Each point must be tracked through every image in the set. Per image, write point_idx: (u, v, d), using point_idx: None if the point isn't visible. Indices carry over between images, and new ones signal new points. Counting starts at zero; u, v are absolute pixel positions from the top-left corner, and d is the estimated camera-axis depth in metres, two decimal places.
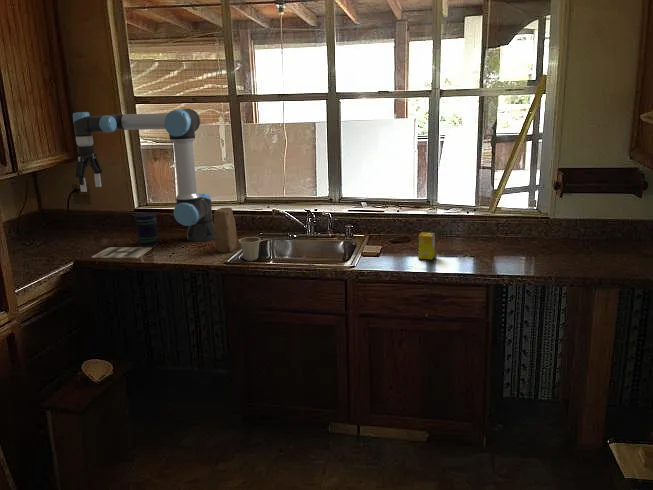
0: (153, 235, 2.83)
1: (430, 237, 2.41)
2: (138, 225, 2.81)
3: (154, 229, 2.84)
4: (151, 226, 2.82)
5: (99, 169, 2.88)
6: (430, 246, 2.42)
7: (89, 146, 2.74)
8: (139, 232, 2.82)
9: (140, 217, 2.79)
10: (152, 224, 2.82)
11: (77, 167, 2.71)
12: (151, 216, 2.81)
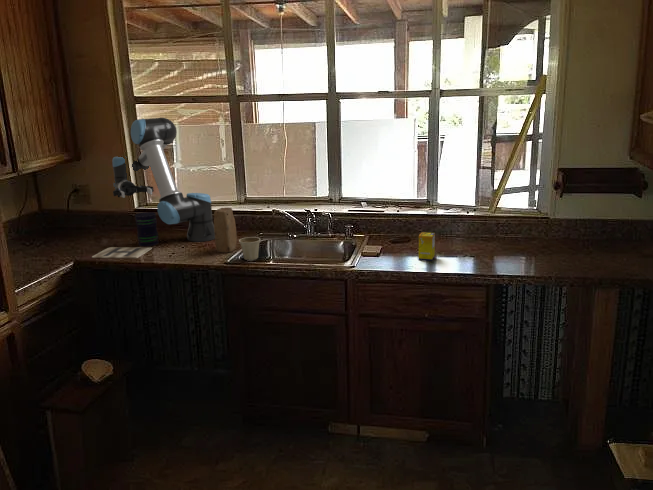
0: (153, 235, 2.83)
1: (430, 237, 2.41)
2: (138, 225, 2.81)
3: (154, 229, 2.84)
4: (151, 226, 2.82)
5: None
6: (430, 246, 2.42)
7: None
8: (139, 232, 2.82)
9: (140, 217, 2.79)
10: (152, 224, 2.82)
11: None
12: (151, 216, 2.81)
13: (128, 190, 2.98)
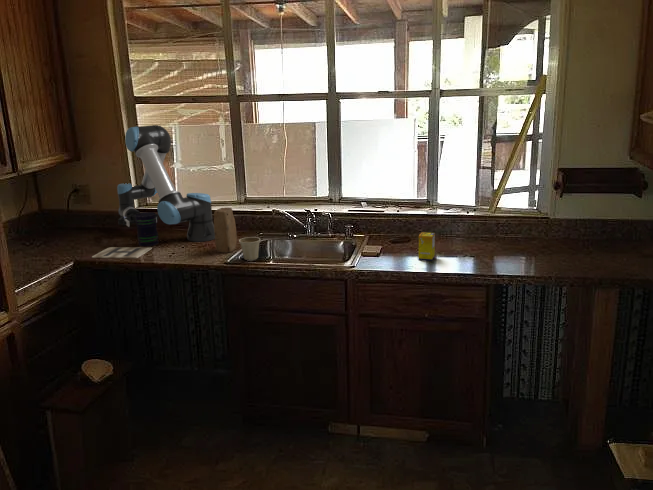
0: (153, 235, 2.83)
1: (430, 237, 2.41)
2: (138, 225, 2.81)
3: (154, 229, 2.84)
4: (151, 226, 2.82)
5: None
6: (430, 246, 2.42)
7: None
8: (139, 232, 2.82)
9: (140, 217, 2.79)
10: (152, 224, 2.82)
11: None
12: (151, 216, 2.81)
13: (133, 218, 2.99)
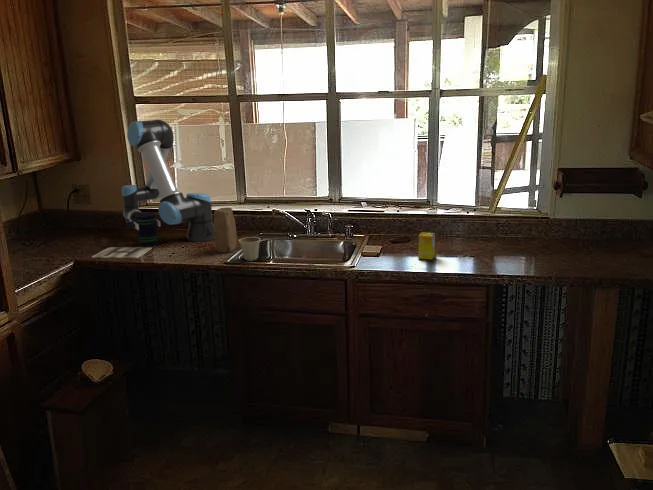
0: (153, 235, 2.83)
1: (430, 237, 2.41)
2: None
3: (154, 229, 2.84)
4: (151, 226, 2.82)
5: (159, 219, 2.92)
6: (430, 246, 2.42)
7: None
8: (139, 232, 2.82)
9: (140, 217, 2.79)
10: (152, 224, 2.82)
11: None
12: (151, 216, 2.81)
13: None
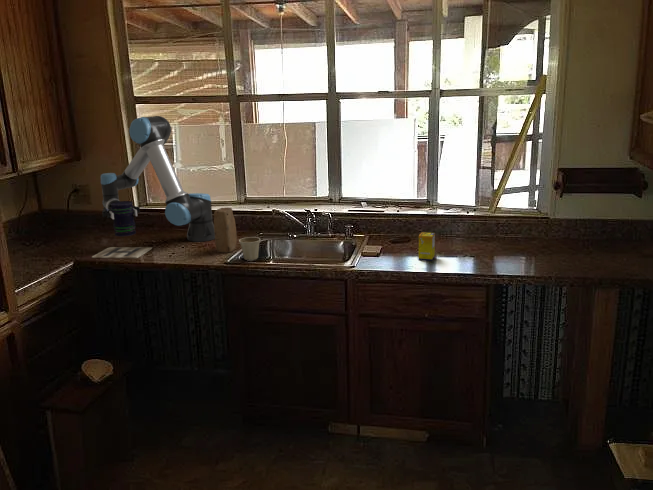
0: (129, 225, 2.70)
1: (430, 237, 2.41)
2: (114, 214, 2.68)
3: (131, 219, 2.71)
4: (127, 215, 2.69)
5: (137, 208, 2.79)
6: (430, 246, 2.42)
7: None
8: (115, 222, 2.69)
9: (116, 206, 2.66)
10: (128, 213, 2.69)
11: None
12: (127, 205, 2.68)
13: None
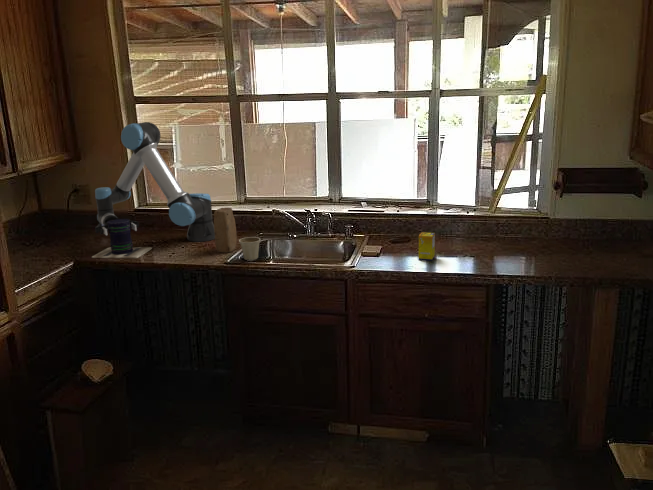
0: (127, 243, 2.67)
1: (430, 237, 2.41)
2: (111, 232, 2.65)
3: (128, 237, 2.68)
4: (124, 234, 2.66)
5: None
6: (430, 246, 2.42)
7: None
8: (112, 240, 2.66)
9: (112, 224, 2.63)
10: (125, 231, 2.66)
11: None
12: (124, 223, 2.65)
13: None
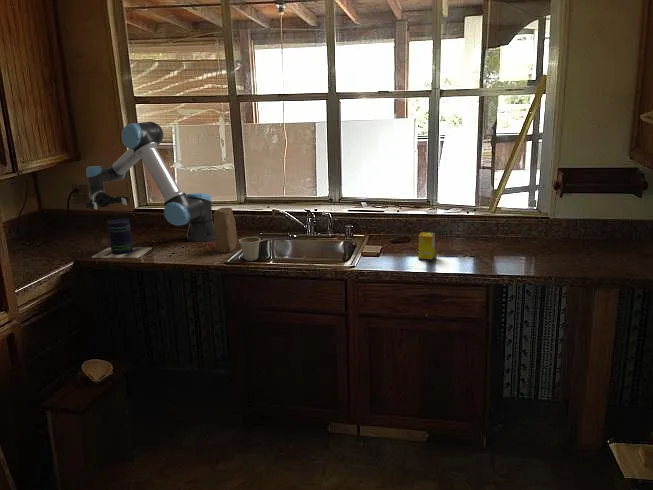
0: (127, 243, 2.67)
1: (430, 237, 2.41)
2: (111, 232, 2.65)
3: (128, 237, 2.68)
4: (124, 233, 2.66)
5: (126, 198, 2.85)
6: (430, 246, 2.42)
7: None
8: (112, 240, 2.66)
9: (112, 224, 2.63)
10: (125, 231, 2.66)
11: None
12: (124, 223, 2.65)
13: (102, 201, 2.83)
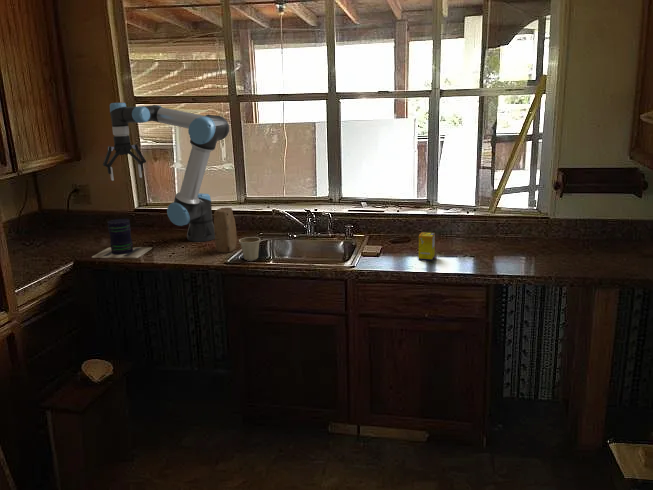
0: (127, 243, 2.67)
1: (430, 237, 2.41)
2: (111, 232, 2.65)
3: (128, 237, 2.68)
4: (124, 233, 2.66)
5: None
6: (430, 246, 2.42)
7: (119, 136, 2.77)
8: (112, 240, 2.66)
9: (112, 224, 2.63)
10: (125, 231, 2.66)
11: (106, 156, 2.79)
12: (124, 223, 2.65)
13: (120, 154, 2.81)
